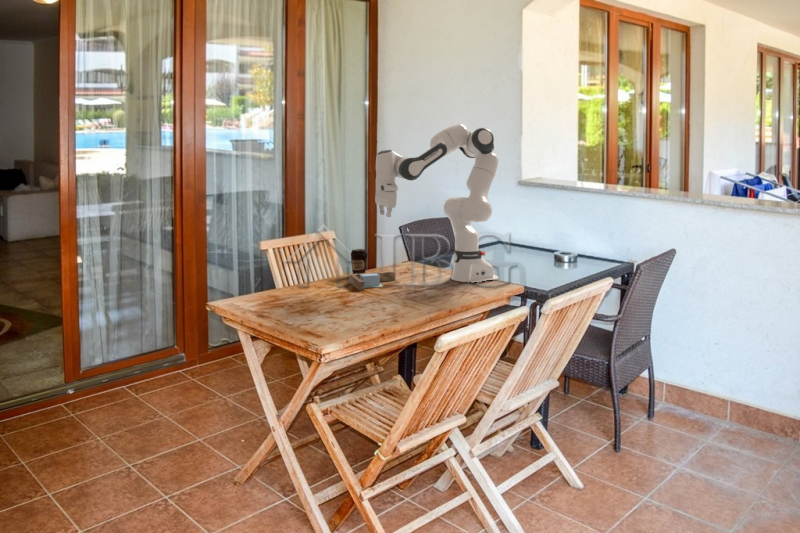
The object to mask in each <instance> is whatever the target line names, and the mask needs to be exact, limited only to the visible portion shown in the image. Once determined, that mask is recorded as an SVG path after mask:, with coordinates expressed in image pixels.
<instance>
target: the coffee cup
mask: <svg viewBox="0 0 800 533" xmlns="http://www.w3.org/2000/svg"><path fill="white" fill-rule="evenodd" d="M368 256H369V252H368V251H367V248H366V249H364V248H356V249H352V250H351V252H350V261H351V271H352V274H360V273H366V270H367V266H368V265H367V264H368Z"/></svg>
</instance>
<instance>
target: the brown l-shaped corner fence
mask: <svg viewBox="0 0 800 533" xmlns="http://www.w3.org/2000/svg"><path fill="white" fill-rule="evenodd" d="M374 273H377V274H379V275H380V282H387V281H388V282H391V281H395V280H396V276H395V275H396V272H395V271H394V270H393V271H389V270H388V271H377V272H375V271H374V272H365V273H360V274H374ZM360 274H353V273H352V274H349V276H348V277H349V282H348V283H349V284H350V285H351V284H352V285H351V286H352V287H354V288H355V289H357V290H359V291H360V292H361V291H365V289H368V288H369V289H370V288H383V287H384V285H382V284H381V283H380V286H372V287H364V281H363V280H361V279H360Z"/></svg>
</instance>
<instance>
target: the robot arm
mask: <svg viewBox="0 0 800 533" xmlns="http://www.w3.org/2000/svg"><path fill="white" fill-rule="evenodd" d="M494 141H495V139H494V134H493V132H492V131H491V130H490V129H489V128H486V127H480V128H476V129H475V130H474V131H472V132H470V131H469V130H468V129H467V127H466V126H465V125H464V124H462V123H456V124H453V125H450V126H448V127H446V128H445V129H443V130H441V131H439V132H437V133H436V134H435V135H434V136H433V137H432V138H431V139H430V142H429V146H430V148H429V149H428V150H426V151H425V152H423V153H421V154H420V155H419V156H416V157H404V156H402V155H401V154H398V153H396V151H394V150H392V149H386V150H381V151H379V152H377V153H376V157H375V172H376V177H375V193H374V194H375V195H374V196H375V198H374V201H375V204H376V205H378V209H379V215H382V216H383V215H386V217H387V218H391V217H392V211H393V209H395V208H396V207H397V201H398V200H397V198H398V195H397V194H398V191H399V190H398V188H399V187H398V185H397V184H396V177H397V178H399V179H405V180H407V181H414V180H417V179H418V178H420V177H421V175H422V174H423V172H424V171H425V170H426V169H427V168H428V167H430V166H431V165H433V164H435V163H436V162H437V161H439V160H441V159H442V158H444V157H445V156H447V155H449V154H451V153H453V152H455V151H456V150H458V149H459V150H460V151H461V152H462V154H463V155H465V157H467V158H469V159H474V164H473V167H472V169H471V171H470V172H469V176H468V177H467V178H468V179H466V188H467V189H468V191H470V192H469V195H468V196H467V197H465V196H464V197H463V196H453V197H449V198H447V200H445V201H444V202H445V203H444V206H443V212H444V215H445V216H446V217H447V218H448V219H449V221H450V223H451V225H452V229H453V231H454V232H453V233H454V246H455V247H454V250H453V260H454V262H453V270H452V274H451V277H450V279H451V280H452V281H456V282H462V283H470V282H471V284H472V283H473V284H475V283H474V282H477V283H483V282H482V281H485V282H487V281H486V280H493V281H498V280H499V276H498V275H497V274H494V273H495V272H494V268H493V265H492V264H490V263H489V262H488V261H487V260H485V259H484V258H483V257H485V256H486V251H484V250H482V251H481V250H479V246H480V245H479V242H480V239H479V238H480V235H479V233H478V231H477V230H476V229H475V228H474V226H473V225H472V223H482V222H483V223H484V222H487V221H489V220H490V219H491V217H492V213H493V208H492V204H491V203H490V202H489V191H490V188H491V185H492V183H493V181H494V178H495V176H496V172H497V169H498V165H499V158H498V156H497V154H495V153H494V152H493V151H494V149H495V145H494ZM385 208H386V214H385ZM482 256H483V257H482Z"/></svg>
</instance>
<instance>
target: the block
mask: <svg viewBox="0 0 800 533" xmlns="http://www.w3.org/2000/svg"><path fill="white" fill-rule="evenodd" d="M373 273H374V274H360V279H361V280H363V281H364V287H372V286H380V284H381V281H380V275H379V274H377V273H375V272H373ZM372 288H373V287H372Z"/></svg>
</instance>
